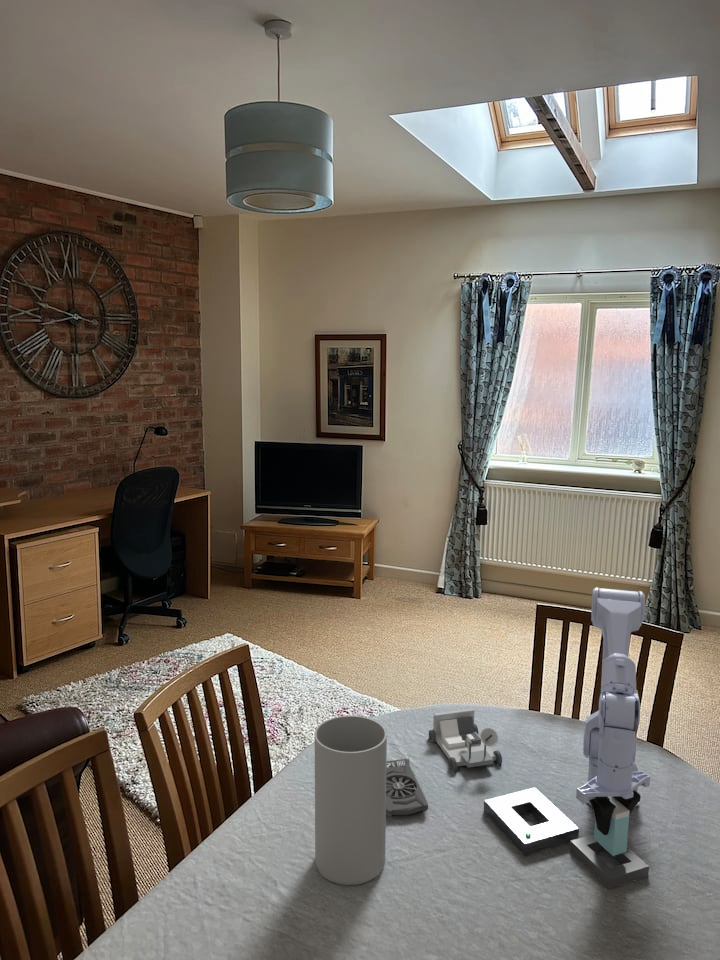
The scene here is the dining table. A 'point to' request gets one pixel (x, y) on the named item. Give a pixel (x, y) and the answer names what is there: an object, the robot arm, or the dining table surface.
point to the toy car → (464, 739)
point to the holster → (607, 875)
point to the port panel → (525, 838)
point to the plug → (615, 830)
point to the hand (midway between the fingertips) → (610, 829)
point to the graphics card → (403, 790)
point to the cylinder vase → (350, 799)
